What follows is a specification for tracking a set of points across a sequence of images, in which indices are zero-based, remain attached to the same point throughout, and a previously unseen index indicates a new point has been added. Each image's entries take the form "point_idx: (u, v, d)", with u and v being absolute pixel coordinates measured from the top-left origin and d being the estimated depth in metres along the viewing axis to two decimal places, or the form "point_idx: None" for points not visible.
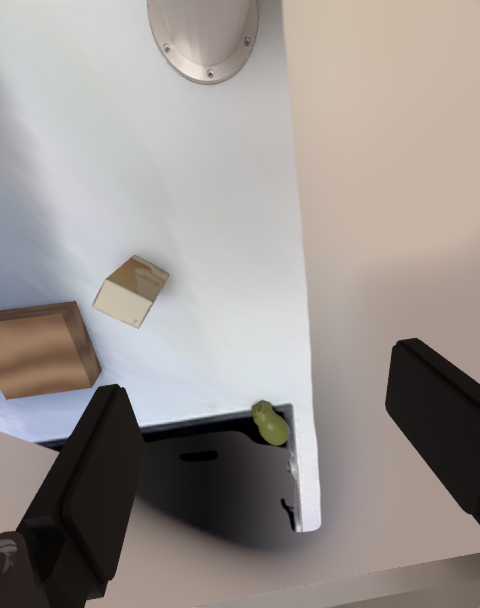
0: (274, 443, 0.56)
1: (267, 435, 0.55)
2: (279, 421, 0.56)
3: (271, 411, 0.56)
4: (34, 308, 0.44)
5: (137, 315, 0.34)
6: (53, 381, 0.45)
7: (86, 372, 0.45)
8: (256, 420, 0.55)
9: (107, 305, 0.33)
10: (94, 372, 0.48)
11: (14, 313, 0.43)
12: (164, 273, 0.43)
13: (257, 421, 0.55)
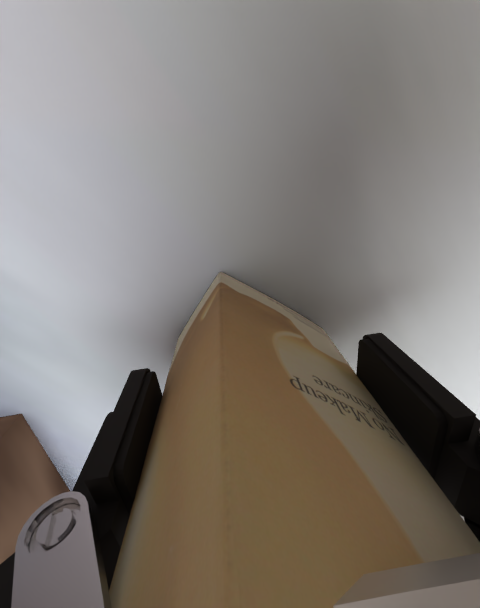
0: None
1: None
2: None
3: None
4: None
5: None
6: None
7: None
8: None
9: None
10: None
11: None
12: (320, 331, 0.13)
13: None
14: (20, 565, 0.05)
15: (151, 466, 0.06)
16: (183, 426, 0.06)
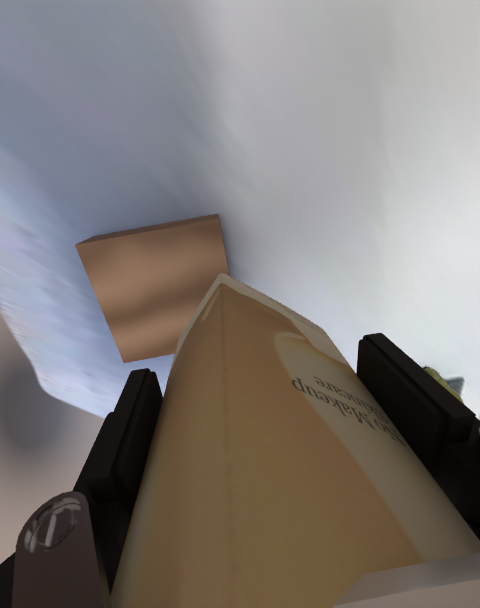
0: None
1: None
2: (456, 393, 0.41)
3: (444, 380, 0.41)
4: (164, 224, 0.30)
5: None
6: None
7: None
8: None
9: None
10: None
11: (139, 230, 0.29)
12: (321, 332, 0.13)
13: None
14: (20, 565, 0.05)
15: (153, 467, 0.06)
16: (185, 427, 0.06)
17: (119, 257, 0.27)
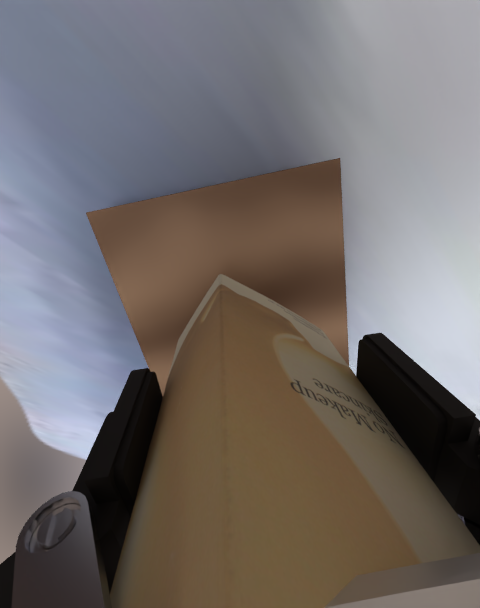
0: None
1: None
2: None
3: None
4: None
5: None
6: None
7: (345, 329, 0.20)
8: None
9: None
10: None
11: None
12: (321, 333, 0.13)
13: None
14: (20, 565, 0.05)
15: (151, 470, 0.06)
16: (184, 430, 0.06)
17: (164, 234, 0.16)
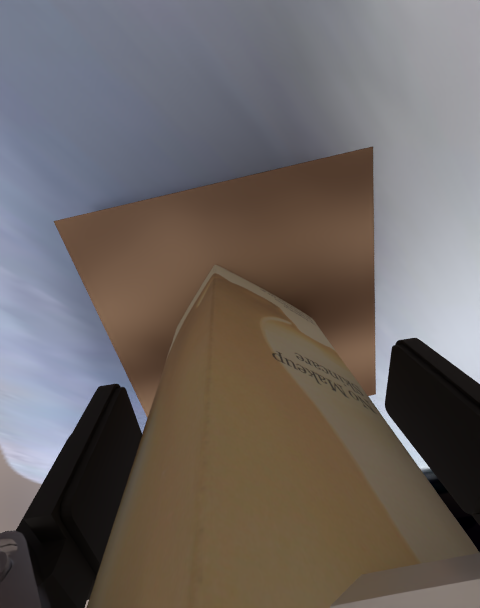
0: None
1: None
2: None
3: None
4: None
5: None
6: None
7: (372, 352, 0.16)
8: None
9: None
10: None
11: None
12: (310, 320, 0.14)
13: None
14: None
15: (150, 428, 0.07)
16: (177, 390, 0.07)
17: (153, 246, 0.13)
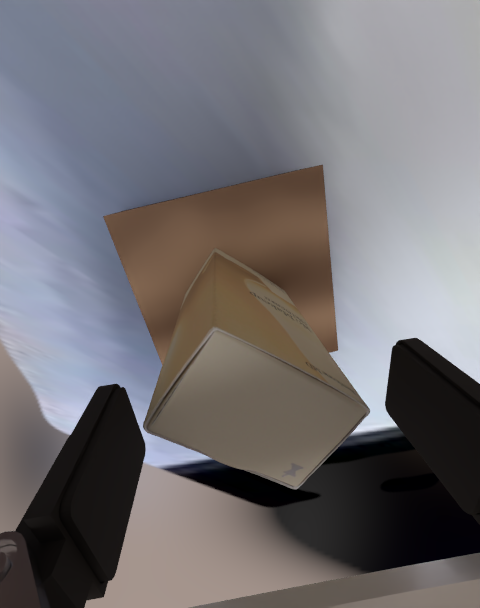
0: None
1: None
2: None
3: None
4: None
5: (307, 452, 0.09)
6: None
7: (333, 316, 0.22)
8: None
9: (205, 425, 0.08)
10: None
11: (194, 194, 0.19)
12: (281, 290, 0.19)
13: None
14: None
15: (177, 332, 0.12)
16: (195, 305, 0.12)
17: (171, 234, 0.18)
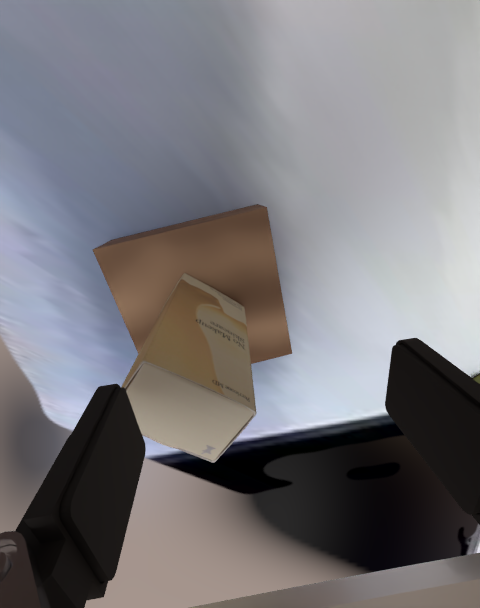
0: None
1: None
2: None
3: None
4: (195, 220, 0.25)
5: (216, 438, 0.14)
6: None
7: (286, 325, 0.26)
8: None
9: (144, 419, 0.13)
10: None
11: (167, 228, 0.24)
12: (239, 307, 0.23)
13: None
14: None
15: (141, 349, 0.17)
16: (152, 331, 0.16)
17: (147, 262, 0.22)
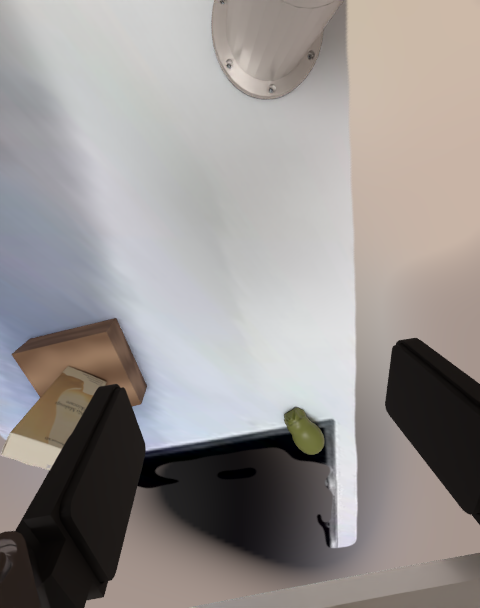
0: (309, 452, 0.53)
1: (302, 444, 0.52)
2: (315, 429, 0.53)
3: (306, 418, 0.53)
4: (77, 329, 0.43)
5: (50, 461, 0.32)
6: None
7: (134, 388, 0.44)
8: (290, 428, 0.52)
9: (16, 454, 0.31)
10: (141, 388, 0.47)
11: (58, 336, 0.42)
12: (100, 384, 0.41)
13: (292, 429, 0.52)
14: None
15: None
16: None
17: (43, 359, 0.40)
